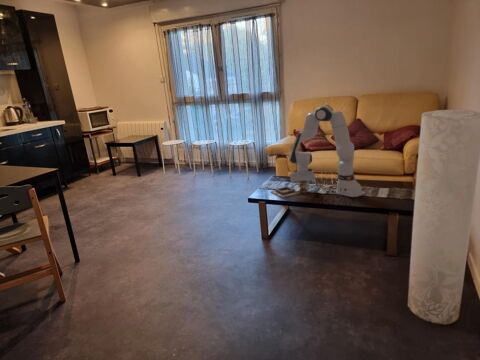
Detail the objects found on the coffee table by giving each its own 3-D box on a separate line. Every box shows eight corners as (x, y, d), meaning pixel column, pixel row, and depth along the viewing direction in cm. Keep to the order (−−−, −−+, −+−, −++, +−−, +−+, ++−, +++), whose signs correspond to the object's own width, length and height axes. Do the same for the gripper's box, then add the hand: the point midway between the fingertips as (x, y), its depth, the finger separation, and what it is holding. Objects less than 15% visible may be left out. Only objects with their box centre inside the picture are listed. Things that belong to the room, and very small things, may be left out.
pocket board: (299, 193, 270) (299, 189, 269) (282, 198, 263) (282, 194, 262) (288, 188, 284) (287, 184, 284) (270, 192, 278) (270, 188, 277)
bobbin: (308, 191, 272) (308, 182, 270) (302, 193, 270) (302, 183, 268) (304, 189, 278) (303, 180, 275) (298, 191, 275) (297, 182, 273)
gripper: (289, 170, 278) (289, 185, 271) (315, 169, 274) (315, 184, 267) (290, 173, 283) (290, 188, 277) (315, 173, 279) (315, 188, 273)
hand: (303, 186), depth 272 cm, fingers closed on bobbin, 5 cm apart
